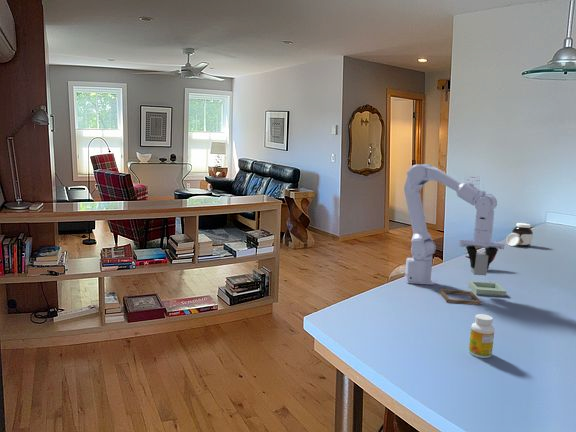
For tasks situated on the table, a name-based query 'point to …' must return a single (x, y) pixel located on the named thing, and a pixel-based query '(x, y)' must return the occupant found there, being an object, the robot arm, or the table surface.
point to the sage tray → (487, 288)
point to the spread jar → (520, 235)
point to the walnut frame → (474, 301)
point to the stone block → (480, 264)
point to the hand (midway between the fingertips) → (479, 267)
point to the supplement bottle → (482, 336)
